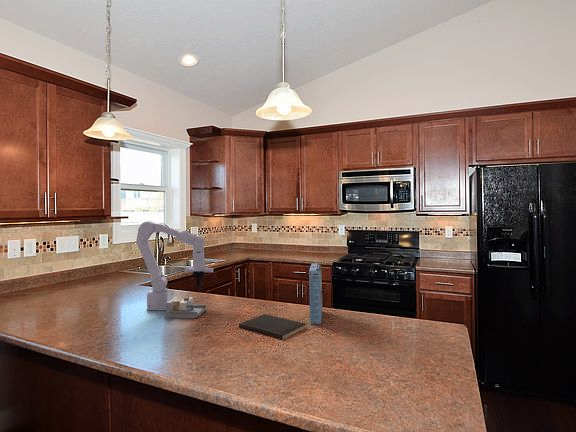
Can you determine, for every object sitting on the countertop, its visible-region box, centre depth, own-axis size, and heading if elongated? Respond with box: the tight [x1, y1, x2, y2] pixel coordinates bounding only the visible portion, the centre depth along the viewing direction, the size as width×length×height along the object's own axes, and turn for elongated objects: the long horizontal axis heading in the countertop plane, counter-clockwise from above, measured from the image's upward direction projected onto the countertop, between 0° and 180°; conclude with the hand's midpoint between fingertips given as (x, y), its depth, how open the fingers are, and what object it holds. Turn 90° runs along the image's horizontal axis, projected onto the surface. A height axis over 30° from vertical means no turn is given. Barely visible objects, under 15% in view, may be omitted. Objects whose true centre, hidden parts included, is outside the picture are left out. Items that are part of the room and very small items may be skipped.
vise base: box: [164, 296, 207, 319], centre depth 165 cm, size 15×12×6 cm
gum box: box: [308, 263, 323, 325], centre depth 156 cm, size 20×5×23 cm, turn 172°
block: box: [173, 298, 184, 311], centre depth 165 cm, size 4×5×5 cm
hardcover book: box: [238, 313, 307, 341], centre depth 144 cm, size 16×23×2 cm
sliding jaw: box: [180, 296, 194, 311], centre depth 164 cm, size 3×9×6 cm, turn 174°
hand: (199, 286), depth 178 cm, fingers closed
